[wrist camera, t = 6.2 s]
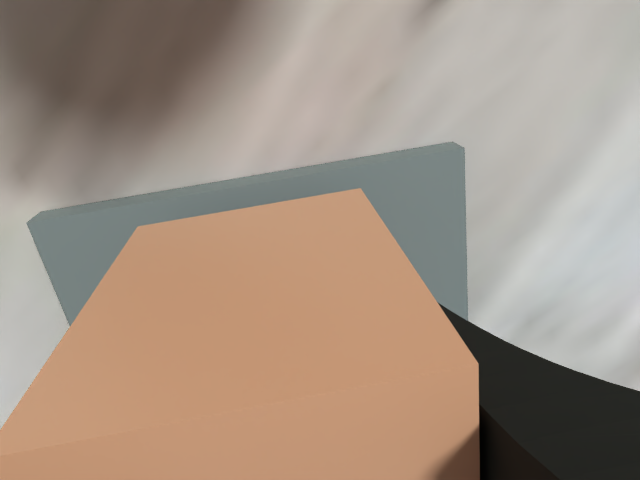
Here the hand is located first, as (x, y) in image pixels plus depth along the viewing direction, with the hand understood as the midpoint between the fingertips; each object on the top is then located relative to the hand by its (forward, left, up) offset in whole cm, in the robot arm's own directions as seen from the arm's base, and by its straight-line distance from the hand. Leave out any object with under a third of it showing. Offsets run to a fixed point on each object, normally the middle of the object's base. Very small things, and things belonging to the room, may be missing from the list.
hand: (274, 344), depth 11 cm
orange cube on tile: (0, 0, -2) cm, 2 cm away
